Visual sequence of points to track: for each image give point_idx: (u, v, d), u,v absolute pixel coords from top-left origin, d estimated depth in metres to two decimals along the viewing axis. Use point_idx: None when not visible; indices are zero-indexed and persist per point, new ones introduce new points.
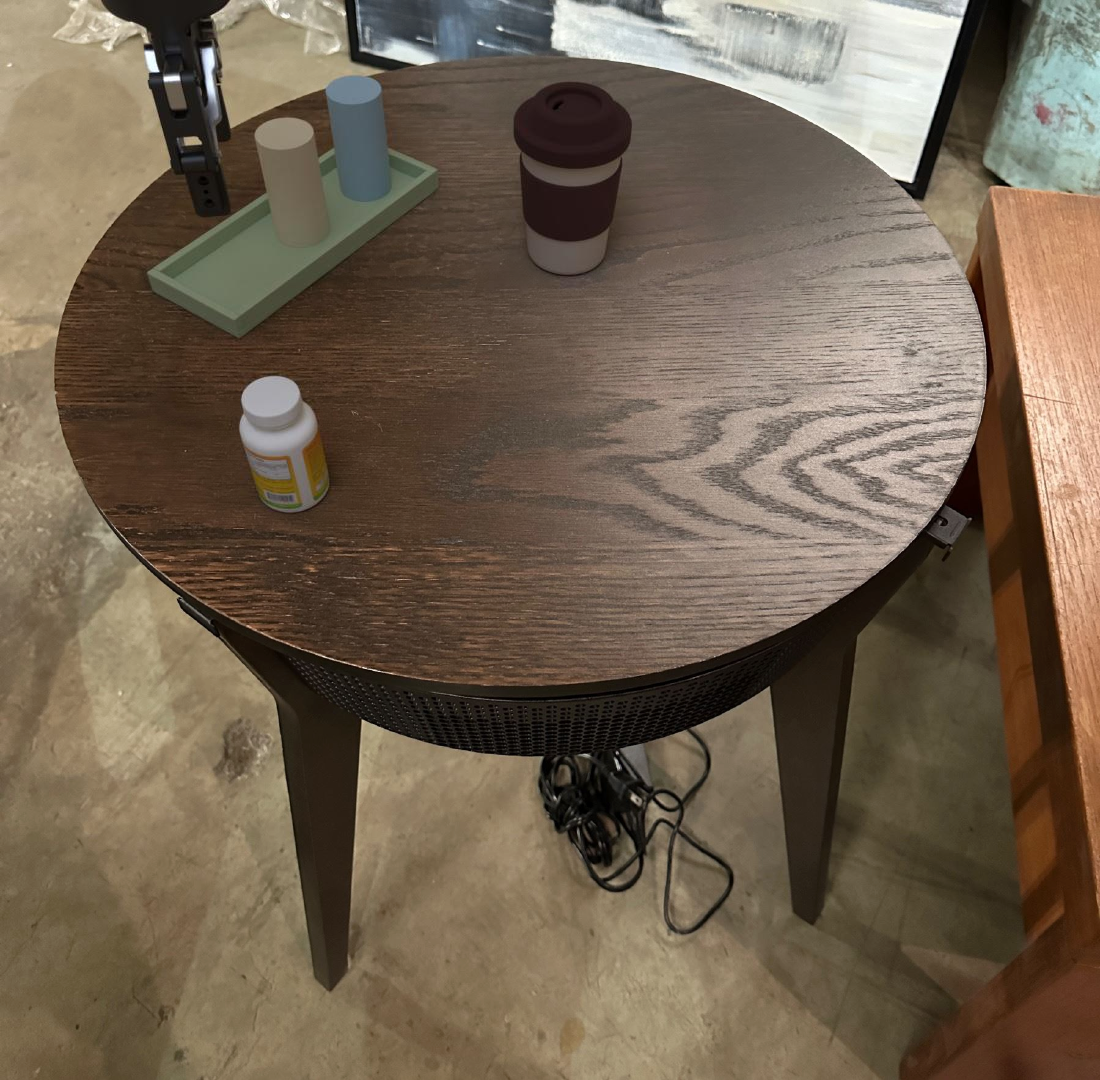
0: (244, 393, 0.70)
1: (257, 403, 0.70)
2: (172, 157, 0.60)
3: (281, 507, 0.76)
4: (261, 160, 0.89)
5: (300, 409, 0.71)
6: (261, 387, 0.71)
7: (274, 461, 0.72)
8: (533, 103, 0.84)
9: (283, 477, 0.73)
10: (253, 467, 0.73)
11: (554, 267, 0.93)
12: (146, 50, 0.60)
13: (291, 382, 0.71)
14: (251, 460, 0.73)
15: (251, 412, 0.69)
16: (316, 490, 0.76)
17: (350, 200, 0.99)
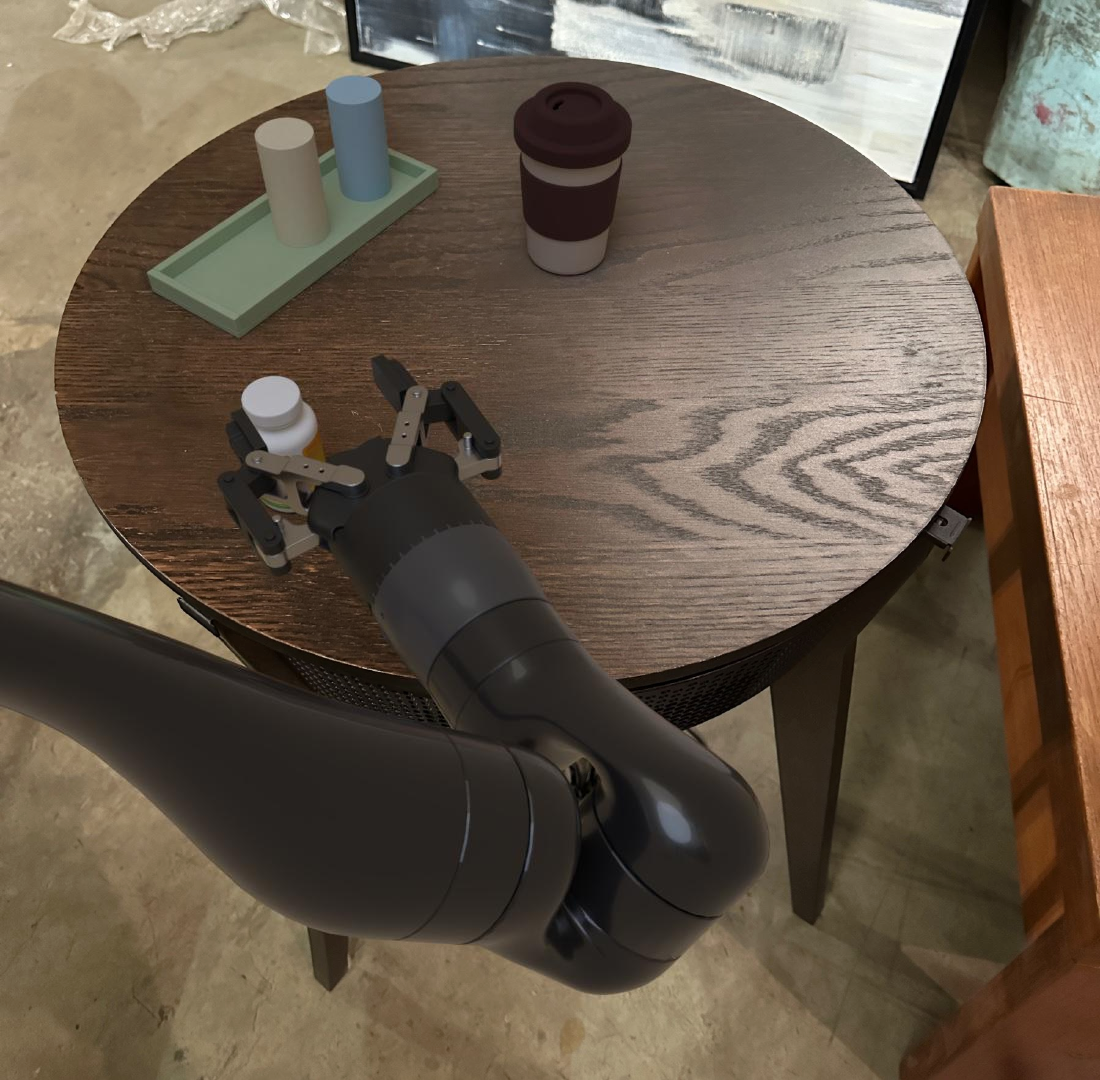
0: (244, 393, 0.70)
1: (257, 403, 0.70)
2: (224, 494, 0.52)
3: (281, 507, 0.76)
4: (261, 160, 0.89)
5: (300, 409, 0.71)
6: (261, 387, 0.71)
7: None
8: (533, 103, 0.84)
9: None
10: None
11: (554, 267, 0.93)
12: (349, 487, 0.52)
13: (291, 382, 0.71)
14: None
15: (251, 412, 0.69)
16: None
17: (350, 200, 0.99)
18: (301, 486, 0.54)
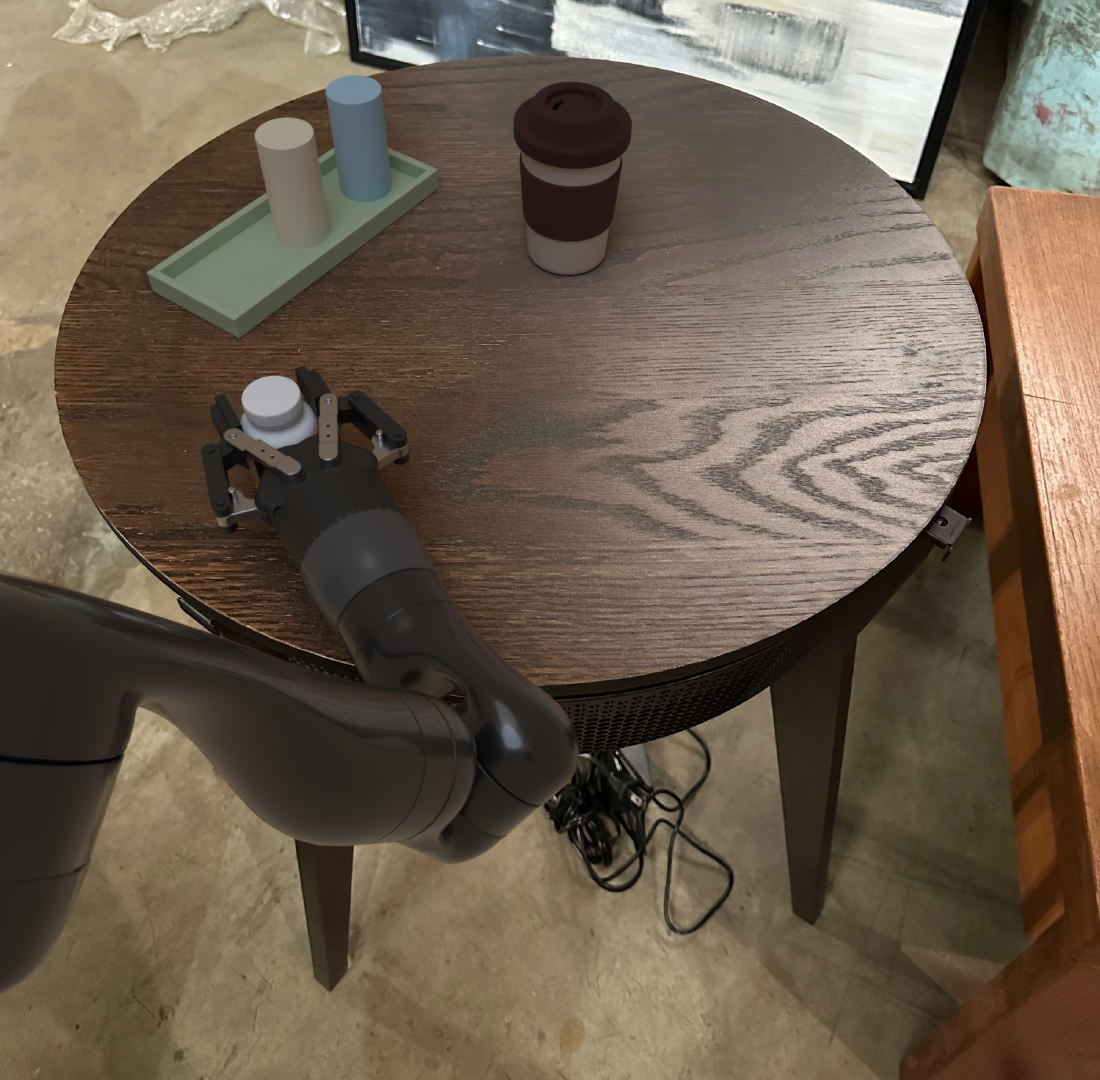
0: (244, 393, 0.70)
1: (257, 402, 0.70)
2: None
3: None
4: (261, 160, 0.89)
5: (300, 409, 0.71)
6: (261, 387, 0.71)
7: None
8: (533, 103, 0.84)
9: None
10: None
11: (554, 267, 0.93)
12: (286, 474, 0.66)
13: (291, 382, 0.71)
14: None
15: (251, 412, 0.69)
16: None
17: (350, 200, 0.99)
18: (260, 464, 0.69)
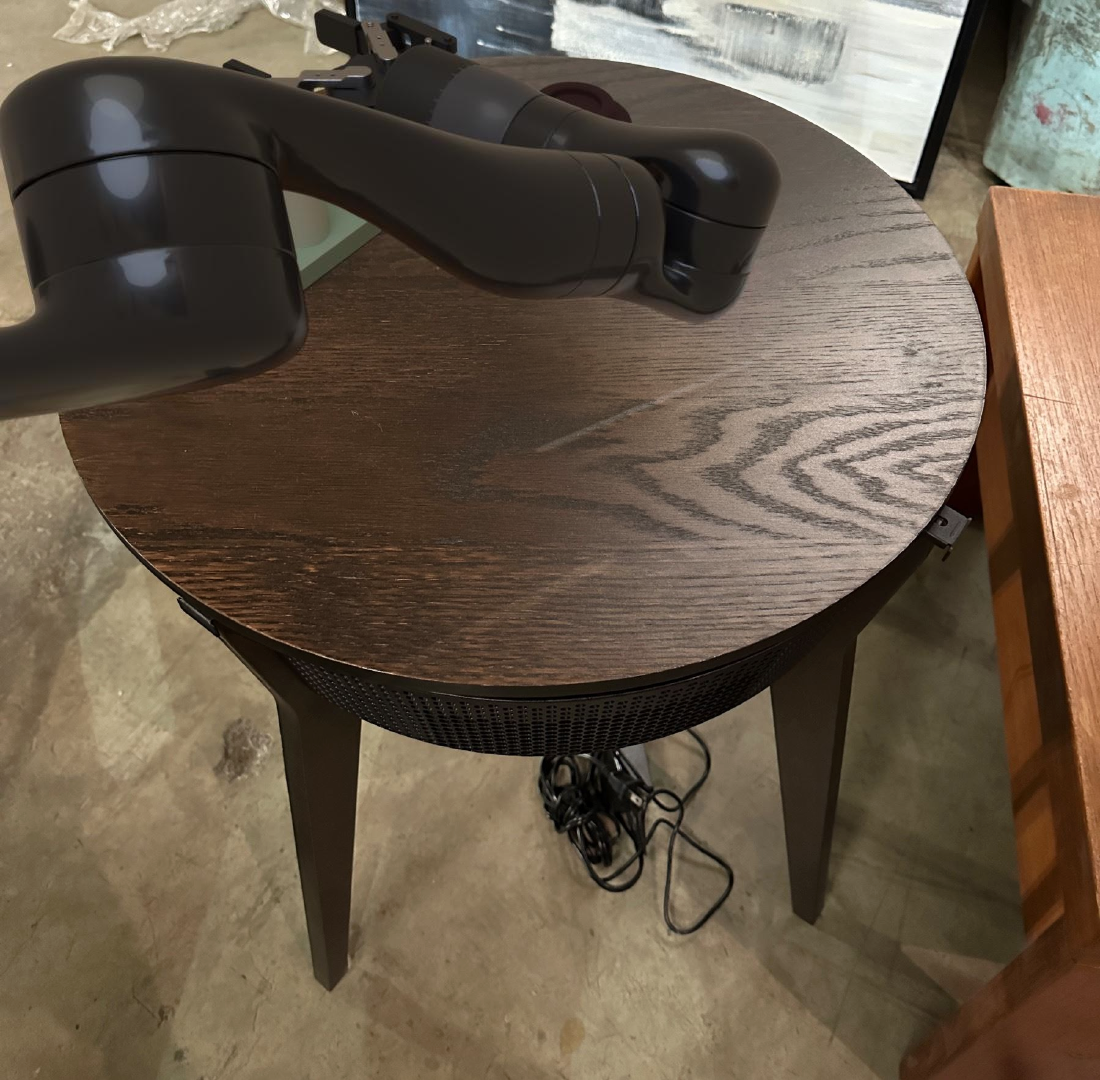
0: None
1: None
2: None
3: None
4: None
5: None
6: None
7: None
8: None
9: None
10: None
11: None
12: (363, 77, 0.63)
13: None
14: None
15: None
16: None
17: None
18: None
